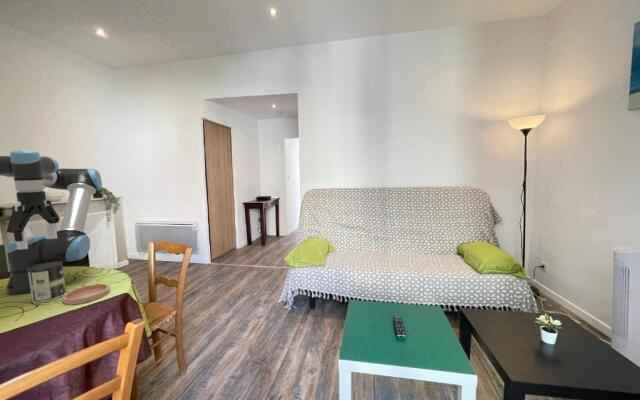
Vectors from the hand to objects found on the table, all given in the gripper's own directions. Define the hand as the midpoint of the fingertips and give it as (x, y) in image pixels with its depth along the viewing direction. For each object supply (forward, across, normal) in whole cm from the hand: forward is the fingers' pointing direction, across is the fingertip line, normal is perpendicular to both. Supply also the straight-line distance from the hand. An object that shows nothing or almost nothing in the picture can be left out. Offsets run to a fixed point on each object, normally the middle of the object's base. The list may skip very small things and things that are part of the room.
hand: (38, 243), depth 102 cm
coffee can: (+25, -3, -2) cm, 25 cm away
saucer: (+24, -1, +14) cm, 28 cm away
